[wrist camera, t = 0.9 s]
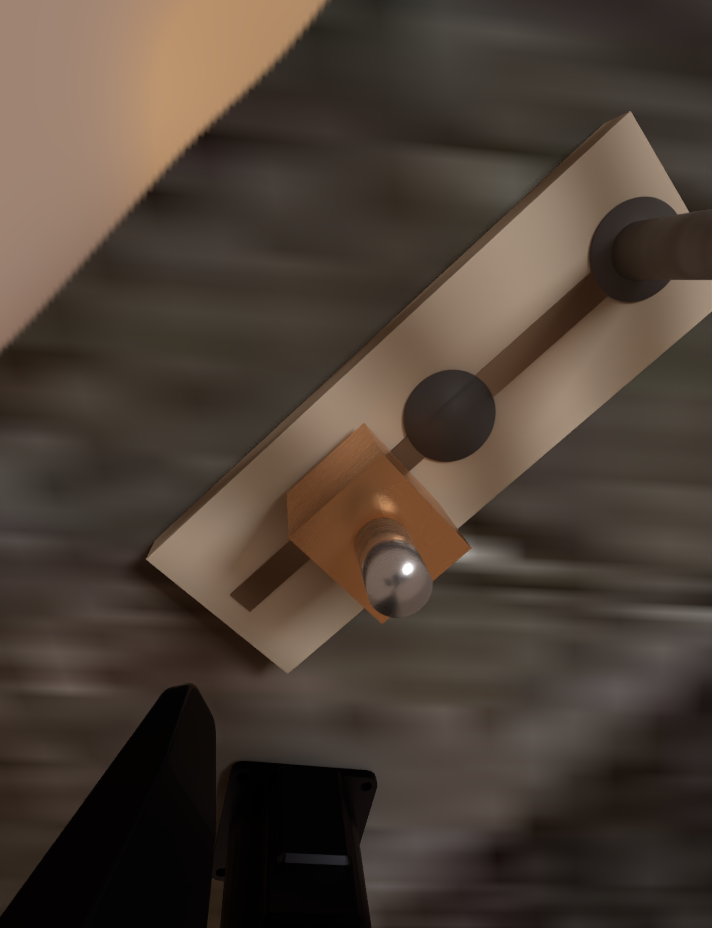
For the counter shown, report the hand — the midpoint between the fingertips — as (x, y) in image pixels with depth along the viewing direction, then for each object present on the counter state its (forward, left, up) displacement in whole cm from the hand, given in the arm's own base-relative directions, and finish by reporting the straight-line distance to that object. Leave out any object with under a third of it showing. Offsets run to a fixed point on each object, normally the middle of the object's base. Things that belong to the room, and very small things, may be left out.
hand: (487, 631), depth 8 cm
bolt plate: (+1, -2, -13) cm, 13 cm away
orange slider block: (-2, 0, -11) cm, 11 cm away
